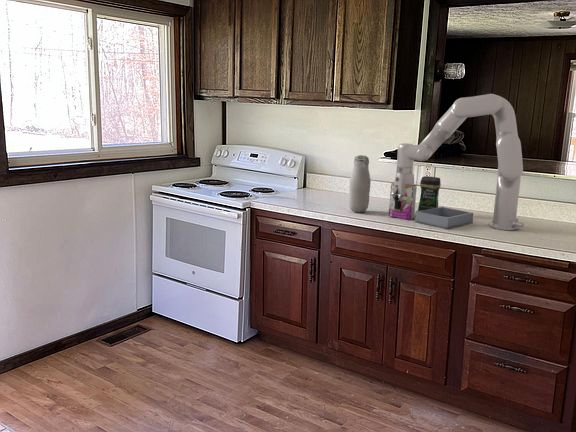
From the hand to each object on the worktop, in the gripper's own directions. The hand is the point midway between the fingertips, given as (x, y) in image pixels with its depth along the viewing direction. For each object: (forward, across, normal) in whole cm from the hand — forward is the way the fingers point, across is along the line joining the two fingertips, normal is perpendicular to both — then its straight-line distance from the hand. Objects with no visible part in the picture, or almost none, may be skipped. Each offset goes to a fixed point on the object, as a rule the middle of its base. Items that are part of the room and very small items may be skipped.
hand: (402, 207), depth 261 cm
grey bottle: (+5, -7, +21) cm, 23 cm away
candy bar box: (+5, 0, 0) cm, 5 cm away
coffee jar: (+5, +18, -2) cm, 19 cm away
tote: (+5, +8, -18) cm, 20 cm away
